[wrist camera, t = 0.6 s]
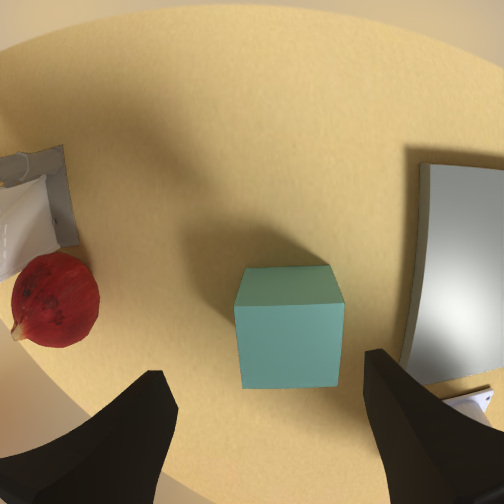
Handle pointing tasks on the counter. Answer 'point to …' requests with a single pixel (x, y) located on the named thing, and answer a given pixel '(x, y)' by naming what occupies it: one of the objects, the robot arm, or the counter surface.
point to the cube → (289, 327)
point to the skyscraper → (34, 209)
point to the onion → (54, 301)
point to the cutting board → (457, 275)
